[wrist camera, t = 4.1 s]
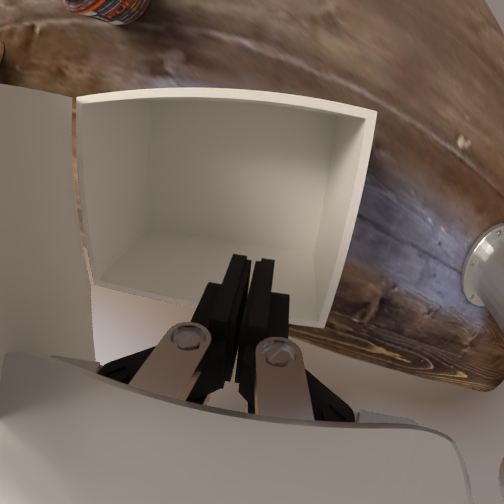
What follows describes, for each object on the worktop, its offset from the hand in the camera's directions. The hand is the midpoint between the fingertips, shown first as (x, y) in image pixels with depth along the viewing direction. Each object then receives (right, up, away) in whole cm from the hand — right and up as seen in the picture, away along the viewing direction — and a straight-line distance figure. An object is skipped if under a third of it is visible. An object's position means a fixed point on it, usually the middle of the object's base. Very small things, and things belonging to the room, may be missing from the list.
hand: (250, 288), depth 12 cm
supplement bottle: (-14, +29, +9) cm, 34 cm away
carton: (-2, +10, +17) cm, 20 cm away
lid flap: (-9, +1, 0) cm, 9 cm away
